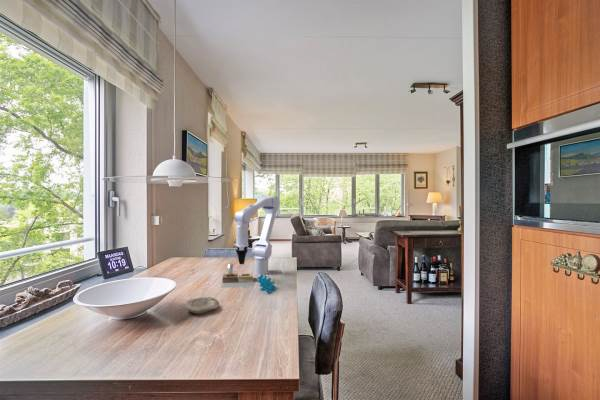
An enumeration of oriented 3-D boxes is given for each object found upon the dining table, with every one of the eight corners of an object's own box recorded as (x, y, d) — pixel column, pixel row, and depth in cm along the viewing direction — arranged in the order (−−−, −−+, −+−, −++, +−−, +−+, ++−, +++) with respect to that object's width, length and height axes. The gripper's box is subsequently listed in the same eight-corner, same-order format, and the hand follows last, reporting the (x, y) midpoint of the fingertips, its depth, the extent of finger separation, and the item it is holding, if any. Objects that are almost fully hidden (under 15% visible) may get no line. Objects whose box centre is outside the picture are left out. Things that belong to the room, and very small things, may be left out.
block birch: (238, 278, 153) (238, 273, 153) (252, 277, 154) (252, 273, 154) (238, 282, 146) (238, 277, 146) (252, 281, 147) (252, 276, 147)
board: (223, 279, 153) (223, 278, 153) (253, 278, 156) (253, 277, 156) (221, 289, 137) (221, 287, 137) (254, 287, 140) (254, 286, 140)
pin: (227, 280, 150) (227, 264, 150) (232, 279, 150) (232, 263, 150) (227, 281, 147) (227, 265, 147) (232, 281, 148) (232, 264, 148)
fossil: (223, 313, 111) (224, 305, 111) (189, 319, 104) (190, 311, 104) (213, 302, 120) (213, 295, 120) (181, 307, 113) (182, 299, 113)
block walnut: (223, 278, 152) (223, 274, 152) (237, 278, 153) (237, 273, 153) (222, 282, 145) (222, 277, 145) (237, 282, 146) (237, 277, 146)
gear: (267, 293, 127) (256, 274, 131) (258, 302, 128) (247, 282, 132) (281, 290, 136) (270, 272, 140) (273, 298, 138) (262, 280, 142)
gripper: (234, 233, 156) (234, 259, 156) (233, 237, 141) (232, 265, 142) (248, 233, 157) (248, 259, 157) (248, 237, 143) (248, 265, 143)
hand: (242, 262), depth 149 cm, fingers open, 7 cm apart
